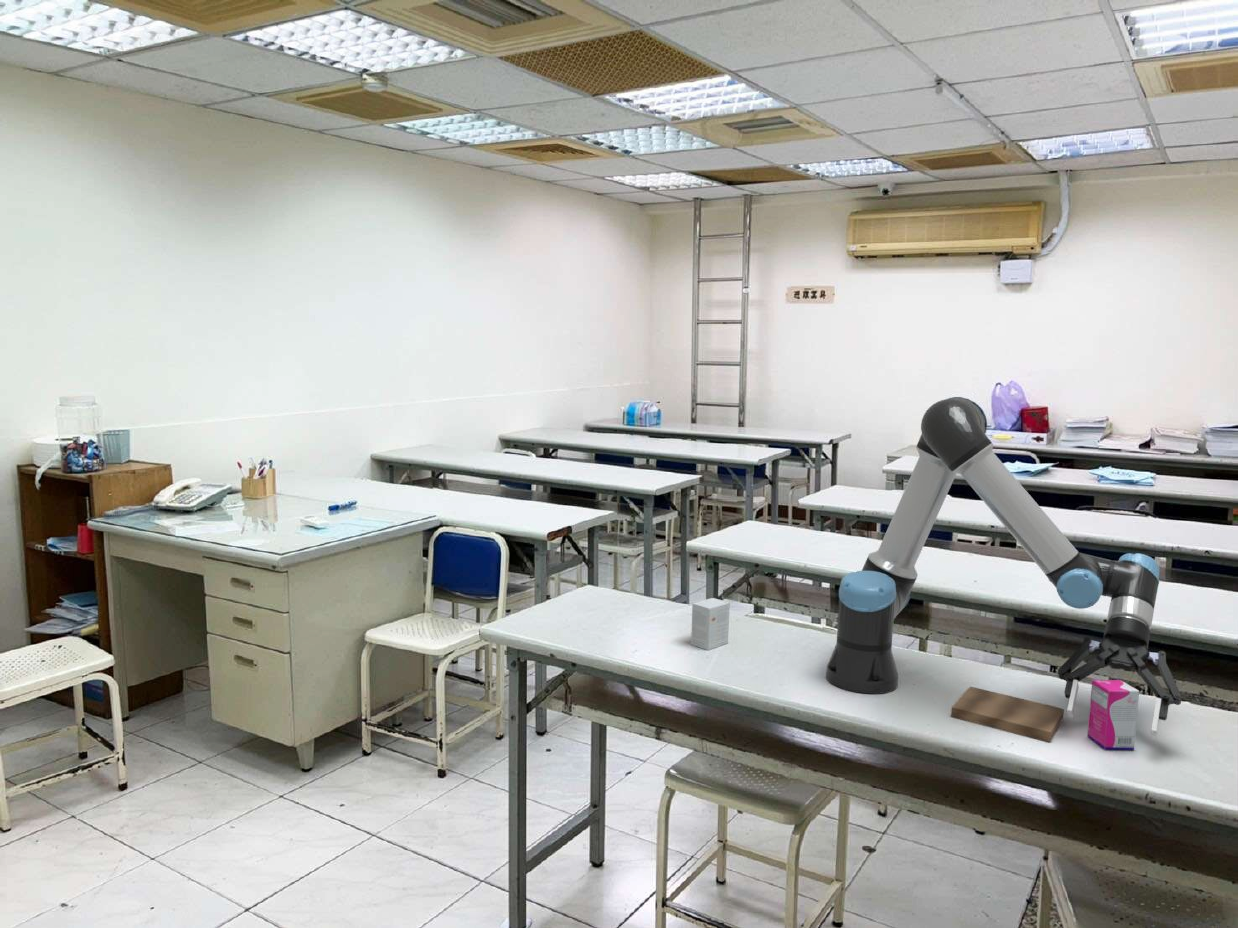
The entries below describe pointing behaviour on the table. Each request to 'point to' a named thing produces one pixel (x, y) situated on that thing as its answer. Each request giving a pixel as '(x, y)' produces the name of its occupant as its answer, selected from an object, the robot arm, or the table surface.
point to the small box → (710, 623)
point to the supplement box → (1113, 714)
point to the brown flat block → (1008, 713)
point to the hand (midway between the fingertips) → (1110, 723)
